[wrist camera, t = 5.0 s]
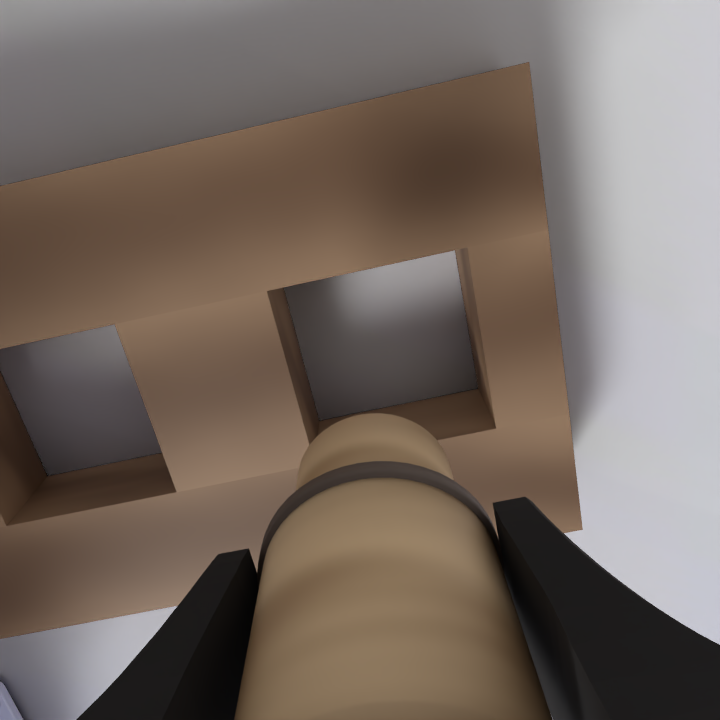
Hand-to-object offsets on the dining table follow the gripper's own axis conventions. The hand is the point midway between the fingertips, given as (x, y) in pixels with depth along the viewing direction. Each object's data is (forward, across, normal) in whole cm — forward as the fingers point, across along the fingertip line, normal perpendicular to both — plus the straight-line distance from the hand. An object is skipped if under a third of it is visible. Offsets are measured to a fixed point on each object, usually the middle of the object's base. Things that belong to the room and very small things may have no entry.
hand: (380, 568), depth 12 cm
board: (+10, +4, -1) cm, 11 cm away
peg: (+3, 0, 0) cm, 3 cm away
